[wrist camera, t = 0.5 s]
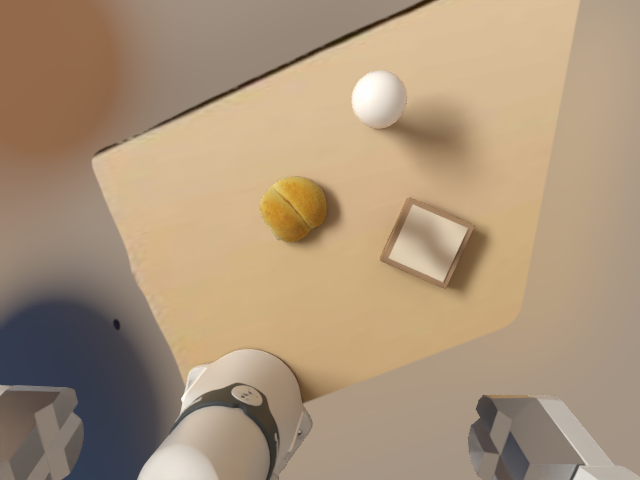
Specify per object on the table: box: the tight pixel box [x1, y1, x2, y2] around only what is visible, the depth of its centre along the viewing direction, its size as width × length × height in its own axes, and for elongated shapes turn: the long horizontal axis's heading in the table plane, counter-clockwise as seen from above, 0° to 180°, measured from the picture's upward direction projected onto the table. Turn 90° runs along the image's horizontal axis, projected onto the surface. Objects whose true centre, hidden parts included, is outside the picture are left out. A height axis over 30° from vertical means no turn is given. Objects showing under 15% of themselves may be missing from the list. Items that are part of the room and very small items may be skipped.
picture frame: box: [380, 198, 475, 289], centre depth 52 cm, size 9×9×3 cm
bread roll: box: [260, 176, 327, 242], centre depth 53 cm, size 8×9×4 cm
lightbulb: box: [352, 70, 407, 128], centre depth 48 cm, size 6×6×11 cm
